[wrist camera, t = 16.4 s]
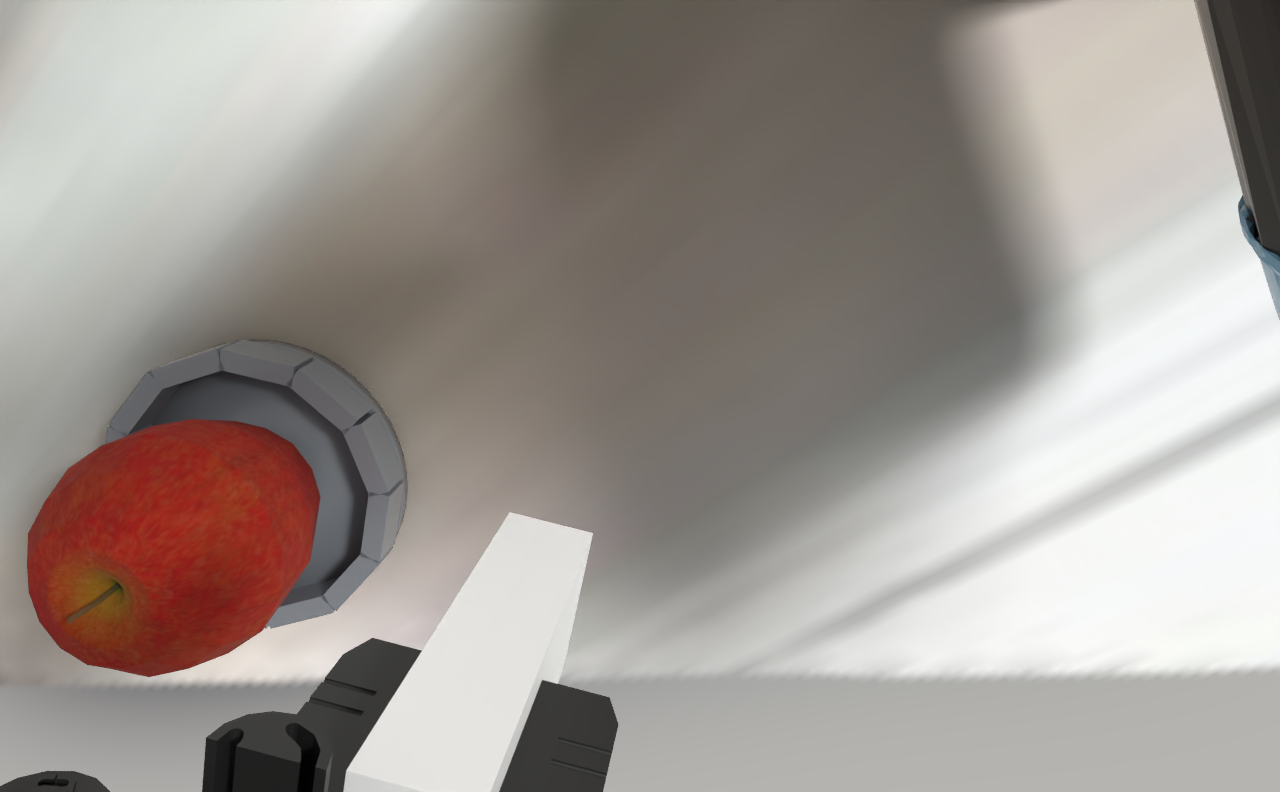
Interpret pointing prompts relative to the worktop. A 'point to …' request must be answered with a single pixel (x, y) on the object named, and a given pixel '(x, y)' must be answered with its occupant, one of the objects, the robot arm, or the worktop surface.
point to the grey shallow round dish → (320, 430)
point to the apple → (172, 544)
